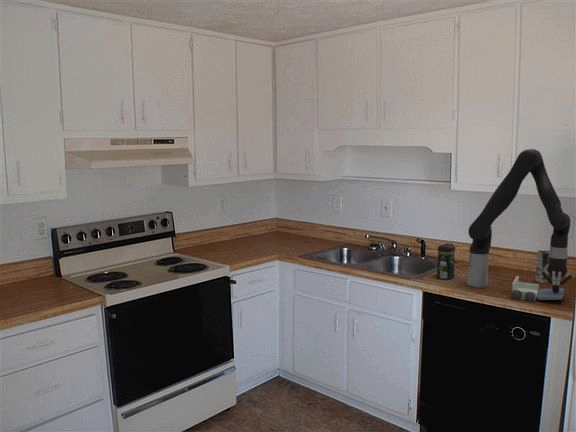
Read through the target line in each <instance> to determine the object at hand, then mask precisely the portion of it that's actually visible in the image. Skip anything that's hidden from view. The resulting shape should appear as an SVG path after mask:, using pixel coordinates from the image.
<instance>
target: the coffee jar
mask: <svg viewBox="0 0 576 432" xmlns="http://www.w3.org/2000/svg"><path fill="white" fill-rule="evenodd" d="M455 247H456V246H455V245H454V244H453V243H444V244H440V245H438V246H437V270H436V277H437V278H438V279H440V280H451V279H453V278H454V277H455V255H456V248H455Z"/></svg>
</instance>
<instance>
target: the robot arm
mask: <svg viewBox="0 0 576 432" xmlns="http://www.w3.org/2000/svg"><path fill="white" fill-rule="evenodd" d="M529 174H530V175H531V176H532V178H533V181H534V183H535V187H536V190H537V195H538V196H539V199H540V201H541V203H542V205H543V208H544V210H545V211H546V215H547V218H548V221H549V223H550V225H551V226H552V227H553V229H552V234H551V236H550V246H549V250H548V251H549V264H548V268H547V270H545V271H543V272H542V274H543V276H544V277H545V278H546V280H547V281H548V282H549V283H548V284H551V285H552V287H551V289H552V291H554V293H557V292H559V288H561V287H560V286H564V285H565V284H566V283H567V282H568V281H569V280H570V279H571V278H572V277H573V274H572V273H569V271H568V269H567V268H568V267H567V266H568V253H569V251H568V245H569V243H568V242H569V233H570V228H571V217H570V216H569V214H567V213H565V212H564V211H563V209H562V202H561V200H560V197H559V196H558V194H557V192H556V190H555V187H554V186H553V183H552V182H551V179H550V177H549V175H548V173H547V169H546V165H545V163H544V159H543V156H542V154H541V152H540V151H539V150H537V149H534V148H529V149H524V150H523V151H521V152H520V153H519V154H518V155H517V157H516V160H515V161H514V163H513V165H512V167H511V169H510V170H509V172H508V174H507V175H506V176H505V177H504V178H503V179H502V181H500V183H499V185H498V186H497V188H496V189H495V191H494V192H493V194H492V195H491V197H490V198H489V199H488V202H487V203H486V205H485V206H484V208H483V210H482V211H481V213H480V214H479V215H478V216H477V218H475V220H473V222H472V223H471V224H470V225H469V228H468V236H469V238H470V239H472V242H471V244H470V246H469V256H468V257H469V259H468V260H469V261H468V267H467V279H466V286H469V287H473V288H477V289H478V288H479V289H480V288H481V289H482V288H483V289H484V288H487V287H488V279H489V278H488V276H489V275H488V274H489V261H490V260H489V259H490V249H491V247H492V246H491V245H492V235H493V228H492V225H493V223H494V222H495V220H496V219H498V218H499V216H500V215H502V214H503V213H504V212H505V211H506V210H507V209H508V208H509V206H510V205H511V204H512V202H513V201H514V200H515V198H516V196H517V195H518V192H519V190H520V188H521V185H522V183H523V181H524V180H525V178H526V177H527V176H528V175H529ZM548 273H549V274H550V275H551V277H552V280H553V281H552V280H551V279H550V278H549V276H548ZM564 276H565V278H563V277H564ZM556 278H558V279H557V283H556ZM562 278H563V280H561V279H562Z"/></svg>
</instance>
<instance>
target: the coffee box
mask: <svg viewBox="0 0 576 432" xmlns="http://www.w3.org/2000/svg"><path fill="white" fill-rule="evenodd" d="M548 264H549V250H537V257H536V265H535V266H536V267H535V268H536V269H535V279H534V280H535V281H536V282H539V283H540V284H550V283H549V282H548V281H547V280H546V278H545V277H544V276H543V274H542V272H543V271H545V270H547V268H548ZM548 276H549V278H550V279H551V280H552V277H551V275H550V274H549V273H548ZM557 279H558V278H556V284H557ZM552 281H553V280H552Z"/></svg>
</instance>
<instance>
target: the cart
mask: <svg viewBox="0 0 576 432" xmlns="http://www.w3.org/2000/svg"><path fill="white" fill-rule="evenodd" d="M519 277H520V276H519V275H516V276H515V278H514V280H513V282H512V283H511V298H510V299H514V300H517V301H518V300H522V301H527V302H536V300H537V299H538V298H537V295H538V293H539V290H540V285H539V284H537V283H527V282H520V278H519Z"/></svg>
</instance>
